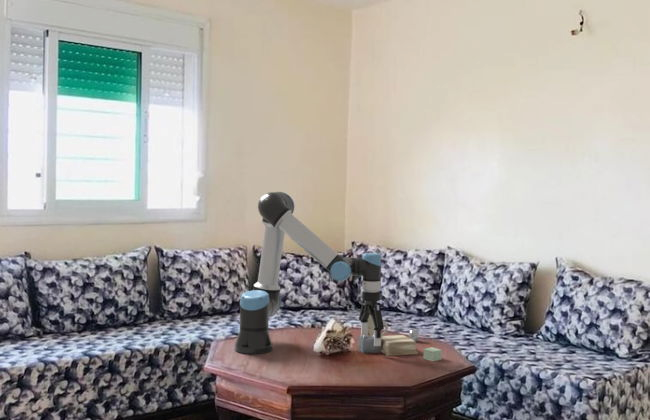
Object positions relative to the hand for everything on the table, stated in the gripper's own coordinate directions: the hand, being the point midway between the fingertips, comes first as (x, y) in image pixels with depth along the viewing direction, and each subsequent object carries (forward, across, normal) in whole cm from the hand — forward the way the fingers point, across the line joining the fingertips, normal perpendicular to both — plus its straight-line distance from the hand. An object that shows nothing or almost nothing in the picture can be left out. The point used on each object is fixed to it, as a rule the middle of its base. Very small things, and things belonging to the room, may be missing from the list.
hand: (370, 341), depth 273 cm
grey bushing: (+4, -11, +26) cm, 28 cm away
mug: (+4, -18, +10) cm, 21 cm away
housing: (+4, 0, 0) cm, 4 cm away
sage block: (+4, +17, +20) cm, 26 cm away
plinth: (+4, +2, +11) cm, 11 cm away
